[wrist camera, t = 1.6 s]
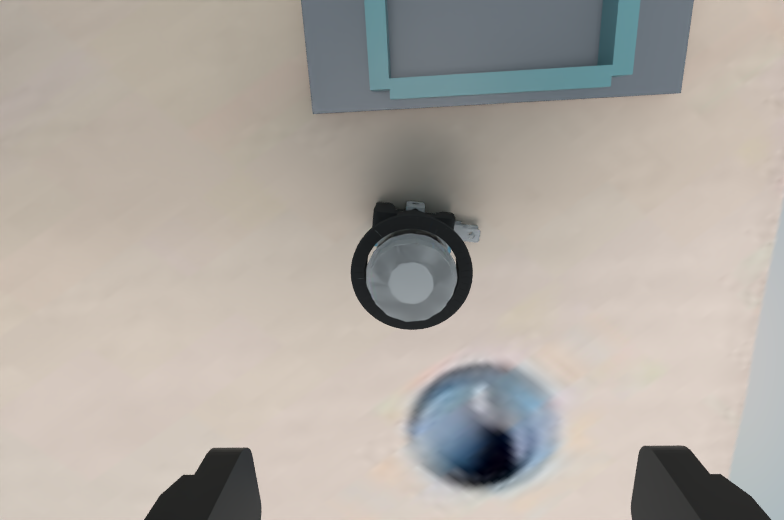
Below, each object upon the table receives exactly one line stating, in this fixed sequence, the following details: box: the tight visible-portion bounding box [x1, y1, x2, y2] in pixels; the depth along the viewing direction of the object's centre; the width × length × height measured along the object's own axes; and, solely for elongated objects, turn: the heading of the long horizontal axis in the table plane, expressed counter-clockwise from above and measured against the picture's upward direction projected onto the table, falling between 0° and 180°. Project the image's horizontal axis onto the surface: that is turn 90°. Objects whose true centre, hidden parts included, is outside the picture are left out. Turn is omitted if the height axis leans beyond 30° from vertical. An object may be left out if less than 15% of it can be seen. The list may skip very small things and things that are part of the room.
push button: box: [351, 201, 480, 330], centre depth 24 cm, size 7×5×10 cm
